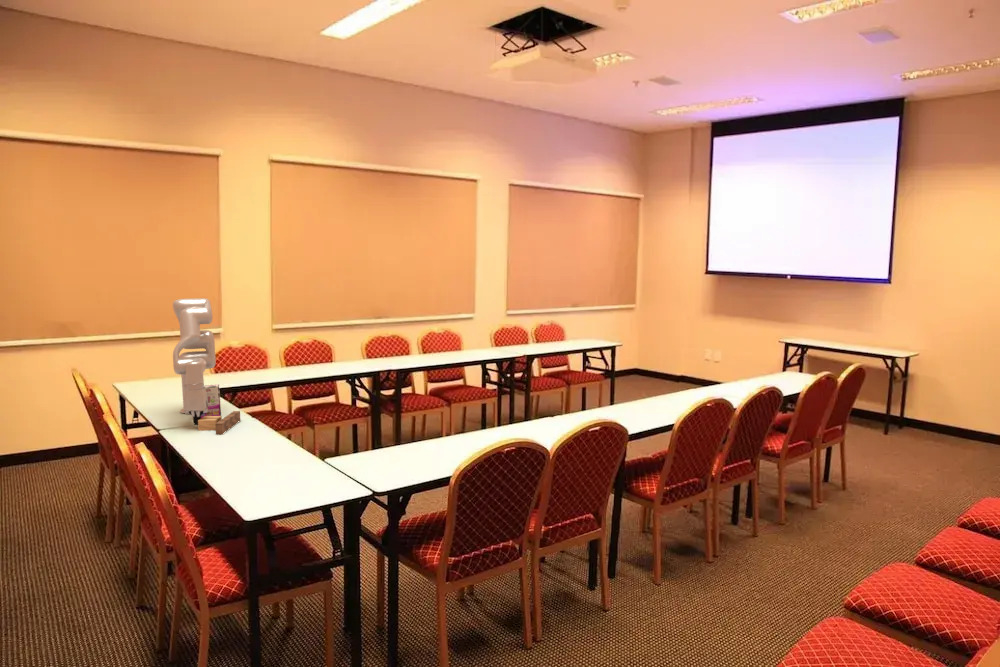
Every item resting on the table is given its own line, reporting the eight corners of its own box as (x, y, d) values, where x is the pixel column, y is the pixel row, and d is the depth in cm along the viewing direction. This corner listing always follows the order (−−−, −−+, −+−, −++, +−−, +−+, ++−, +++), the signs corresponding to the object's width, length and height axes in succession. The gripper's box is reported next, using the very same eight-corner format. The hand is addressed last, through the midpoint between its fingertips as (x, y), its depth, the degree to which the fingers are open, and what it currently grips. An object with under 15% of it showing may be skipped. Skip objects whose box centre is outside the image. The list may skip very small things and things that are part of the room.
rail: (234, 420, 329) (233, 411, 329) (240, 420, 329) (239, 411, 329) (215, 434, 306) (215, 423, 305) (222, 434, 306) (221, 423, 305)
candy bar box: (221, 415, 340) (219, 384, 338) (221, 417, 335) (219, 385, 333) (197, 417, 336) (195, 385, 334) (196, 419, 331) (195, 387, 329)
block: (205, 426, 320) (204, 416, 319) (222, 426, 320) (221, 416, 320) (198, 430, 312) (197, 420, 312) (215, 430, 313) (215, 420, 312)
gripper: (175, 388, 310) (178, 426, 313) (208, 388, 311) (210, 426, 313) (182, 385, 318) (184, 422, 320) (214, 385, 318) (216, 422, 320)
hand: (197, 424), depth 317 cm, fingers closed
